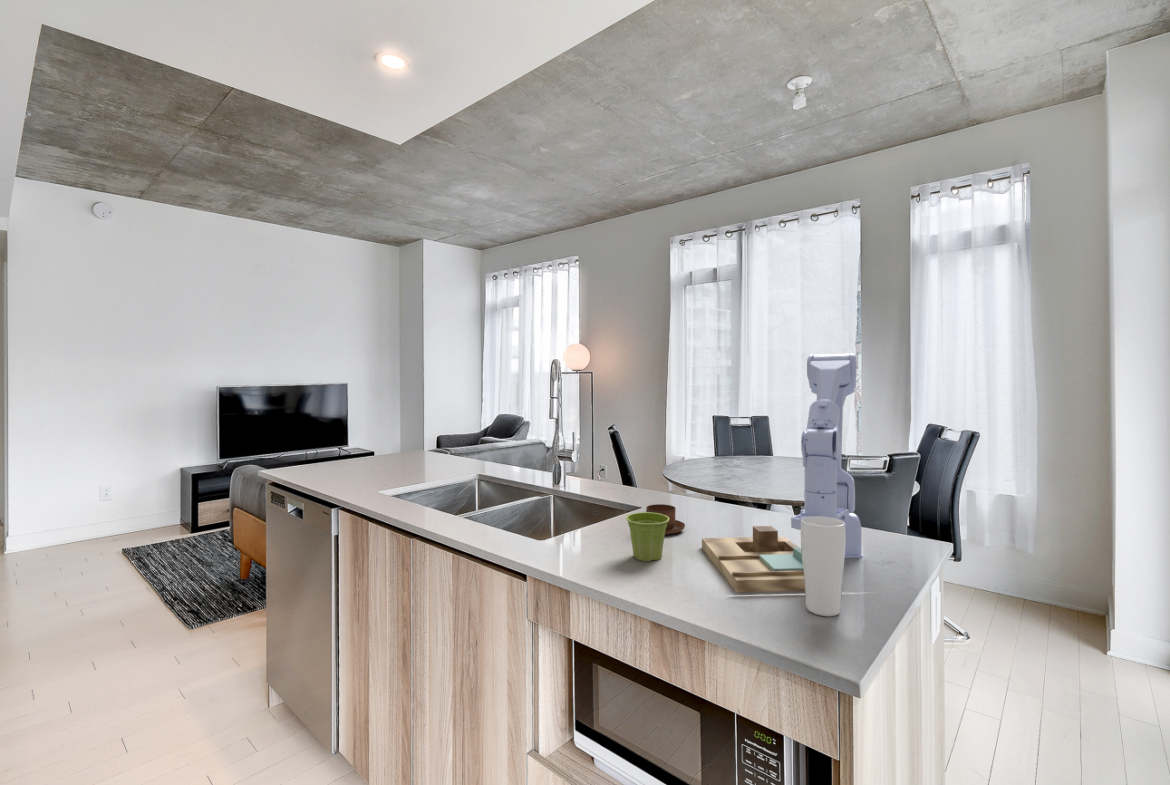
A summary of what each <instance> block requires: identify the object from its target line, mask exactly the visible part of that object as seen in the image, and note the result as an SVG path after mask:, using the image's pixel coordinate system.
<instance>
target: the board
mask: <svg viewBox="0 0 1170 785" xmlns="http://www.w3.org/2000/svg"><path fill="white" fill-rule="evenodd" d="M794 547H799V546H798V545H796V544H795V543H794V542H792V541H791V540H790V539H788V538H787V537H786V536H778V552H753V536H752V537H745V536H744V537H707V538H706V537H705V538H703V537H702V538H701V548H702V550H703V551H704V553H705V554H706V555H707V557H709V559H710V560H711V561H712V563H713V564H714V566H715V567H716V568H717V570H719V572H720V573H721V574H722V575H723V577H724V578H725V579H726V581H727V582H728V584H730V586H731V587H732V588H733V590H734V591H735V592H736V593H755V592H756V593H760V592H764V593H765V592H802V591H804V592H805V583H804V572H803V570H801V571H772V570H771V569H770V568H769V567H768V566H766V565H765V564H764V563H763V562H762V561H761V560H760V559H759V555H777V554H793V548H794Z"/></svg>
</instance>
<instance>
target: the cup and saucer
mask: <svg viewBox="0 0 1170 785" xmlns="http://www.w3.org/2000/svg"><path fill="white" fill-rule="evenodd" d="M645 512H651V513H659V514H663V515H666V516H668V517H669V522H667V527H666V529H665V536H667V535H668V536H669V535H674V534H678V533H680V532H682V531H684V529H685V527H686V524H685V523H684V522H683V521H680V520H677V519H676V507H675V506H673V505H670V504H662V503H661V504H659V503H657V504H651V505H647V506H646V511H645Z"/></svg>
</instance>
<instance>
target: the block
mask: <svg viewBox="0 0 1170 785" xmlns="http://www.w3.org/2000/svg"><path fill="white" fill-rule="evenodd" d="M778 533H779V531H778V530H777V529H776V528H774V527H773V526H772V525H764V526H763V525H755V526H752V537H753V552H778V537H779V534H778Z"/></svg>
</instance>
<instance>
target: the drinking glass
mask: <svg viewBox="0 0 1170 785" xmlns="http://www.w3.org/2000/svg"><path fill="white" fill-rule="evenodd" d="M845 542H846V537H845V523H844V522H843V521H841V520H839V519H835V518H830V517H822V516H810V517H805V518H803V519H802V520H801V530H800V545H801V546H800V548H801V550H802V561H803V572H804V583H805V591H804V593H805V608H806V609H807V610H808V611H809V612H810V613H812V614H814V615H817V616H819V617H820V616H822V617H836V616H838V615H839V614H840V613H841V606H842V605H841V604H842V603H841V600H842V589H843V588H842V587H843V578H844V570H845V569H844V568H845V559H846V558H845Z"/></svg>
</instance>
